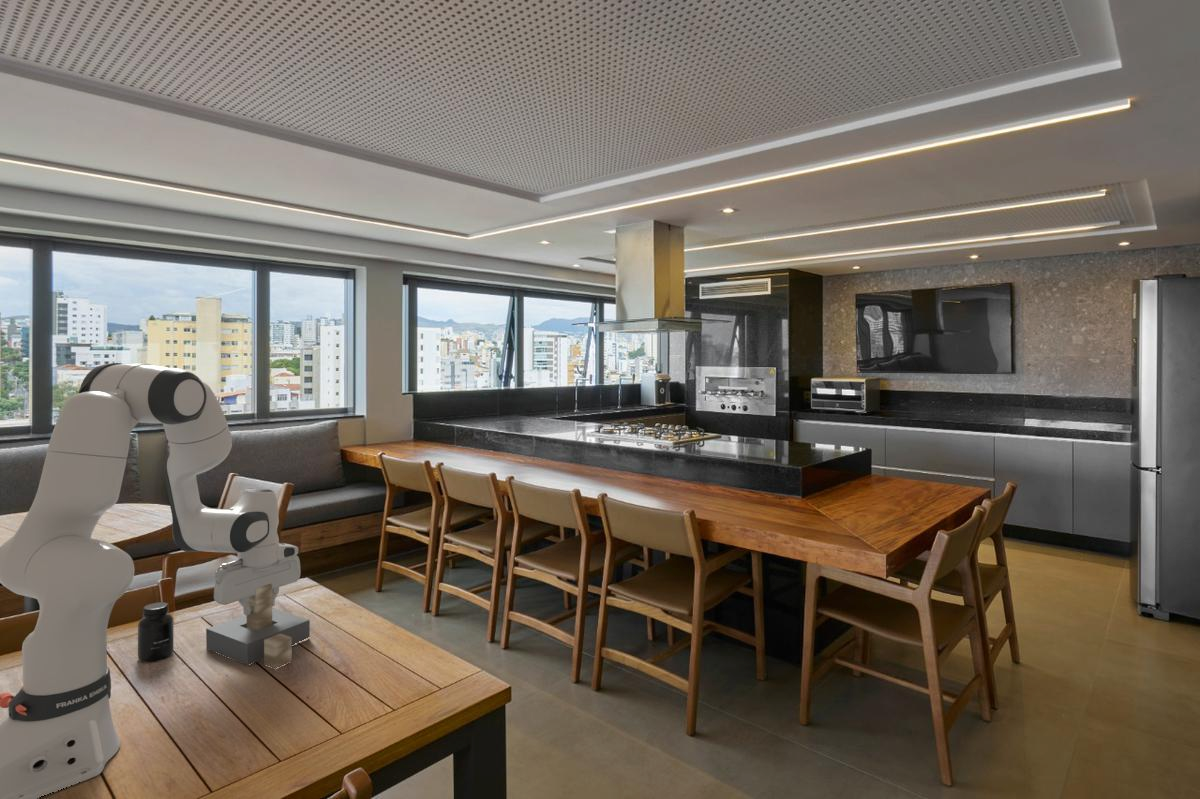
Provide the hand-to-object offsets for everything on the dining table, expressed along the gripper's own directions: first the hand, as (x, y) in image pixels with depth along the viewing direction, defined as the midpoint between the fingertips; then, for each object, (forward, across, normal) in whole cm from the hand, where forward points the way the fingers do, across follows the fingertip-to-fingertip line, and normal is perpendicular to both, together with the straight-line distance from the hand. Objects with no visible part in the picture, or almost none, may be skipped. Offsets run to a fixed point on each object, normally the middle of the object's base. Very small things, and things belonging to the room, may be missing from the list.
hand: (259, 610), depth 155 cm
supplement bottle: (+9, -16, +14) cm, 23 cm away
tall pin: (+6, 0, 0) cm, 6 cm away
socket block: (+8, 0, 0) cm, 8 cm away
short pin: (+8, -4, -13) cm, 16 cm away
